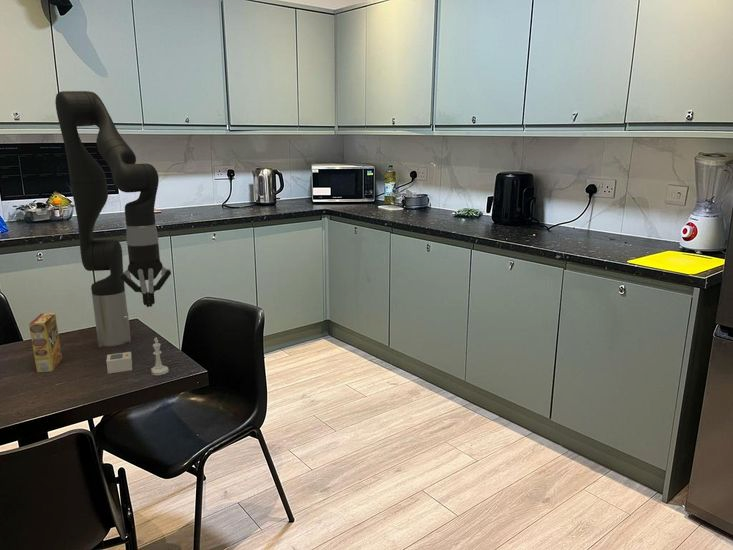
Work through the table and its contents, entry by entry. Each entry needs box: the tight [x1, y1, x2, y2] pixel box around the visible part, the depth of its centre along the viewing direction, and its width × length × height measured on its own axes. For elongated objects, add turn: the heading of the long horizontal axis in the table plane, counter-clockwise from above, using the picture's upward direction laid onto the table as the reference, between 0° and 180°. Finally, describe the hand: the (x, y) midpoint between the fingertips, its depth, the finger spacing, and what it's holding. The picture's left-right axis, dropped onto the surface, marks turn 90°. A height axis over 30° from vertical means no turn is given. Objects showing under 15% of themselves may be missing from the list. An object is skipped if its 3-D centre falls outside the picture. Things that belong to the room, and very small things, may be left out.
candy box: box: [28, 312, 63, 373], centre depth 150 cm, size 9×4×15 cm, turn 13°
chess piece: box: [150, 336, 170, 376], centre depth 150 cm, size 5×5×10 cm
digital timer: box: [106, 351, 133, 375], centre depth 149 cm, size 6×5×4 cm
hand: (149, 306), depth 146 cm, fingers closed
